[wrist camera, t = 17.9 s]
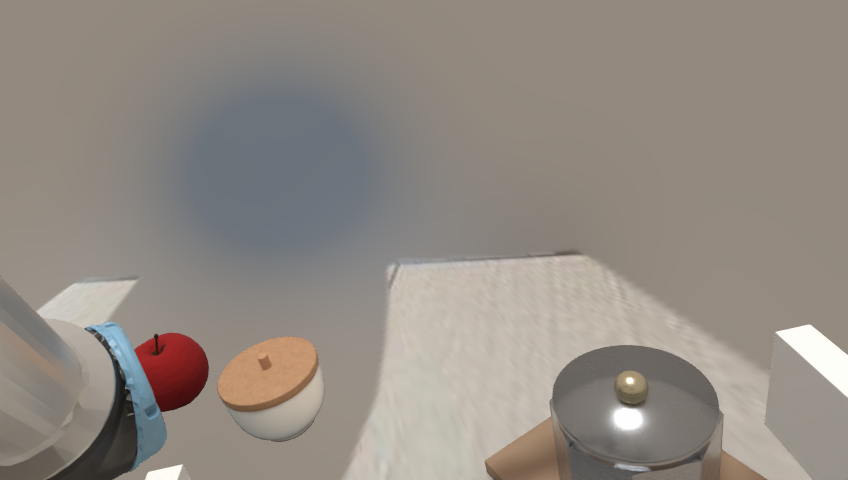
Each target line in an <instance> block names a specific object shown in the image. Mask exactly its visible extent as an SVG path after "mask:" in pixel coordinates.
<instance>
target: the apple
mask: <svg viewBox="0 0 848 480" xmlns="http://www.w3.org/2000/svg"><path fill="white" fill-rule="evenodd" d="M134 351H135V353H136V355H137V357H138V359H139V361H140V364H141V366H142V368H143V370H144V372H145V374H146V377H147V379H148V381H149V384H150V386H151V388H152V391H153V394H154V397H155V399H156V403H157V405H158V407H159V409H160V411H161V412H165V411H170V410H175V409H177V408H180V407H183V406H185V405H187V404H189V403H191V402H192V401H193V400H194V399H195V398H196V397H197V396H198V395H199V393H200V392H201V391H202V389H203V388H204V386H205V383H206V381H207V378H208V371H209V370H208V369H209V366H208V360H207V357H206V354H205V352H204V350H203V349H202V348H201V347H200V346H199V344H198V343H196V342H195V341H194V340H193V339H191V338H190V337H187V336H185V335H182V334H178V333H167V334H163V335H160V336H158V335H157V334H155V335H154V338H152V339H150V340H148V341H146V342H145V343H143V344H141V345H140V346H138V347H137V348H136V349H134Z"/></svg>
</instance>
